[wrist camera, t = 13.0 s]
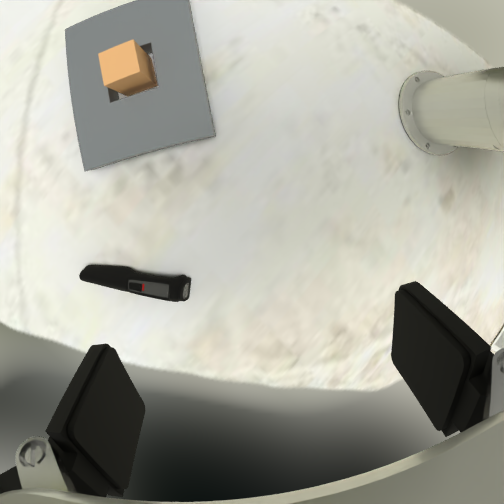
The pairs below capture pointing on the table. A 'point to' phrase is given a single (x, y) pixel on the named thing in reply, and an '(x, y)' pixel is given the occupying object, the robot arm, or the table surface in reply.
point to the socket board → (145, 103)
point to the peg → (127, 68)
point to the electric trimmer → (138, 282)
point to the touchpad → (498, 342)
